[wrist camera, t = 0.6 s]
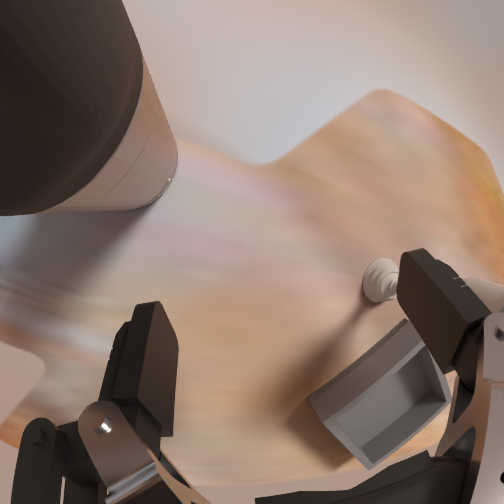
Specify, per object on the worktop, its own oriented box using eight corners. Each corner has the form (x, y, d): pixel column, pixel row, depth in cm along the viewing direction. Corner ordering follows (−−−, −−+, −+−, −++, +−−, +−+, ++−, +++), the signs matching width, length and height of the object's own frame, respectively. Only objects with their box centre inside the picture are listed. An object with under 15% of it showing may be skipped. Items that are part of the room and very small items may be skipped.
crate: (306, 397, 32) (321, 422, 27) (404, 318, 32) (429, 332, 28) (354, 449, 35) (369, 470, 30) (432, 385, 36) (452, 400, 31)
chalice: (402, 306, 32) (519, 367, 15) (354, 316, 31) (470, 399, 14) (406, 245, 31) (539, 277, 14) (356, 249, 30) (496, 292, 12)
